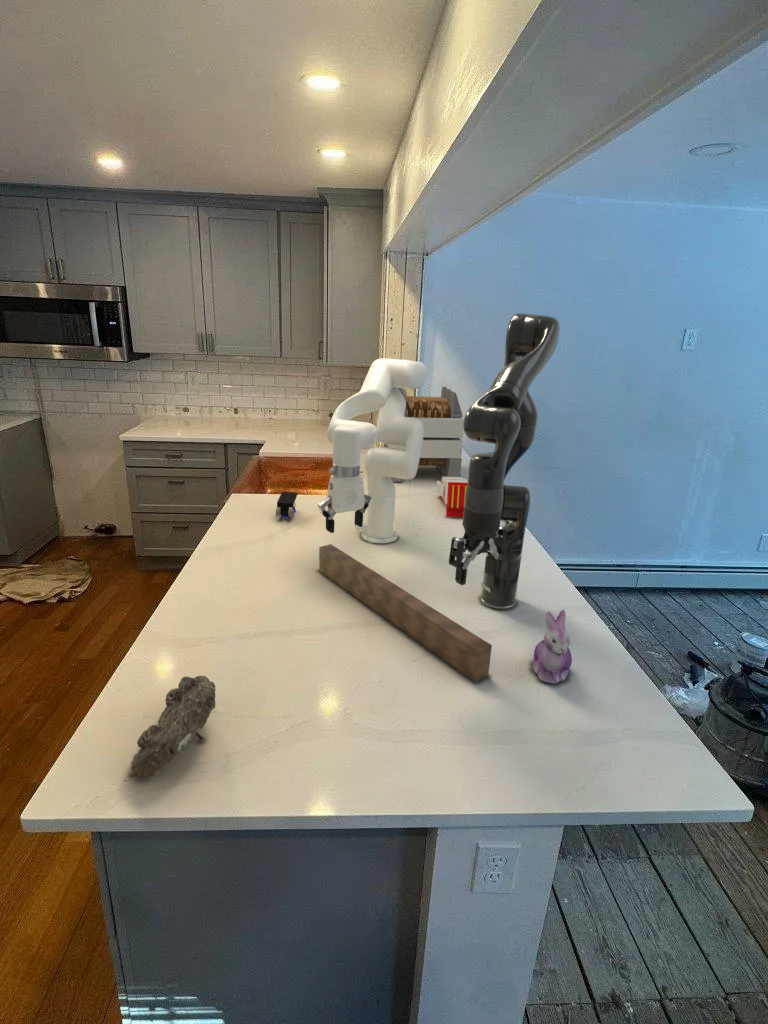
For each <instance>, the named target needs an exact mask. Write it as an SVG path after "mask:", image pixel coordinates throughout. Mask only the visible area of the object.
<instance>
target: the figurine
mask: <svg viewBox="0 0 768 1024" xmlns="http://www.w3.org/2000/svg"><path fill="white" fill-rule="evenodd" d="M566 615H567V613H566V610H565V609H561V610H560V611H559V612H558V615H557V617H556V619H555V618H554V616H553V614H552V613H551V611H549V610H546V611H545V624H546V631H545V633H544V635H543V640H541V641H539V642H538V643H537V644H536V646H535V648H534V652H533V660H532V669H533V672H534V673H535V674H536V675H537V676H538V679H539V680H540V681H542V682H545V683H549V684H558V683H559V682H563V681H565V680H566V679H567V677H568V675H569V673H570V668H571V666H572V664H573V656H572V653H571V650H570V648H569V646H570V644H571V639H570V638H571V637H570V635H569V633H568V630H567V629H566V617H567V616H566Z"/></svg>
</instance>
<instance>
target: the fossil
mask: <svg viewBox="0 0 768 1024" xmlns="http://www.w3.org/2000/svg"><path fill="white" fill-rule="evenodd" d="M216 686H217V685H215V682H213V681H211V680H210V679H209V678H208V677H207V676H206V675H196V676H195V677H191V676H183V677H182V678H180V681H179V683H178V687H175V688H171V689H170V690H169V691H168V692H167V693H166V695H165V706H166V707H165V708H164V709H163V711H162V712H161V715H160V716H159V718H158V721H157V723H158V724H157V725H156V724H151V725H150V726H148V728H147V729H145V730H144V731H142V733H141V735H140V736H139V737H138V739H137V742H136V744H137V746H138V748H139V750H138V751H137V753H136V754H134V755H133V761H132V762H131V766H130V768H131V770H132V774H134V775H137V776H139V777H141V778H142V777H147V776H158V775H159V774H161V772H163V770H164V769H165V768H166V767H167V766H169V765H170V764H171V763H172V762H173V761H174V760H175V759H176V758H177V757H178V756H179V755H180V754H181V753H182V752H183V751H185V748H187V746H188V743H190V742H191V741H192V740H193V738H195V736H196V737H197V738H198V739H199V740H200V741H202V740H204V737H203V735H201V734H200V733H199V732H198V731H199V729H203V728H204V726H205V725H206V723H207V722H208V719H209V717H210V715H211V714H212V711H213V710H214V709H215V708H216V690H217V689H216Z"/></svg>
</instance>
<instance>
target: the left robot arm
mask: <svg viewBox="0 0 768 1024" xmlns="http://www.w3.org/2000/svg"><path fill="white" fill-rule="evenodd" d="M427 374H428V372H427V366H426V365H425V364H424V363H423V362H422V361H416V360H415V361H414V360H409V359H397V358H389V357H388V358H387V357H386V358H385V357H383V358H377V359H375V360H374V361H373V362H372V363H371V365H370V367H369V369H368V372H367V374H366V375H365V378H364V381H363V383H362V385H361V388H360V390H359V391H358V392H356V393H355V394H353V395H351V396H349V397H348V398H346V399H345V400H344V401H343V402H341V403H340V404H339V405H338V406H337V407H336V409H335V410H334V411H333V412H334V413H333V414H332V417H331V419H330V421H329V424H328V427H327V439H328V441H329V443H331V444H332V465H331V468H329V469H328V472H329V474H331V475H330V477H329V482H328V487H327V494H326V495H327V496H326V498H325V499H324V500H322V501H321V502H320V503H318V504H317V508H318V511H319V512H320V514H321V515H322V516H323V517H324V518H325V529H326V531H327V532H329V533H330V534H334V533H335V519H334V517H335V516H336V514H343V513H349V512H353V511H354V527H355V529H356V530H361V534H360V535H361V538H362V539H363V540H364V541H366V542H368V543H373V544H389V543H393V542H395V541H397V540H398V537H399V534H398V532H397V531H396V530H395V528H394V527H395V510H396V509H395V508H396V507H395V506H396V491H397V490H396V485H395V482H393V481H392V479H391V478H390V477H392V478H399V479H402V480H412V479H414V478H415V477H416V475H417V473H418V469H419V466H418V465H419V459H420V453H421V448H422V442H423V435H424V428H423V424H422V422H421V421H420V420H419V419H416V418H409V417H404V414H405V408H406V401H405V399H404V397H403V395H402V394H401V392H400V391H399V389H398V388H403V389H409V390H419V389H422V387H424V385H425V383H426V381H427V378H428V377H427V376H428V375H427ZM377 411H378V416H377V421H376V425H375V424H374V423H371V422H366V421H358V420H352V419H354V418H356V417H358V416H363V415H365V414H366V415H367V414H370V413H374V412H377ZM377 442H378V443H380V444H383V445H384V444H390V445H398V446H405V447H406V450H402V449H395V448H387V447H384V446H375V445H376V444H377ZM362 450H368V451H367V452H366V455H365V461H364V462H365V469H366V478H367V491H366V494H365V483H364V479H363V478H364V477H363V475H362V474H361V473H360V472H361V451H362ZM326 508H327V509H326ZM365 513H366V519H365V520H366V521H364V514H365Z"/></svg>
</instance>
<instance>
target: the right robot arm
mask: <svg viewBox="0 0 768 1024" xmlns="http://www.w3.org/2000/svg"><path fill="white" fill-rule="evenodd" d="M560 327H561V326H560V322H559V320H558V319H557V318H556V317H553V316H550V315H541V314H532V313H520V312H518V313H517V312H516V313H514V314H513V315H512V316H511V317H510V319H509V321H508V325H507V329H506V335H505V346H504V360H503V361H504V363H503V368H502V369H501V370H500V371H499V372H498V373H497V375H496V376H495V378H494V380H493V381H492V384H491V385H490V387H489V388H488V389H489V390H487V391H486V392H485V393H484V394H483V395H481V396H480V397H479V398H478V399H476V401H474V402H473V403H472V404H471V405H470V407H469V408H468V410H467V411H466V413H465V415H464V417H463V419H464V422H463V429H464V432H463V433H464V434H465V436H466V438H468V439H469V440H471V441H473V442H479V443H485V444H493V445H494V451H490V452H479V453H476V454H473V455H472V456H471V457H470V460H469V464H468V476H467V482H468V484H467V489H466V493H465V503H464V513H463V517H462V527H463V529H464V534H463V536H462V537H456V536H453V537H452V538H451V542H450V549H449V556H448V565H450V566H452V567H454V568H455V575H454V580H455V582H456V583H457V584H458V585H460V586H465V585H466V584H467V576H468V568H469V567H468V566H469V565H470V563H471V562H473V561H474V560H475V559H476V557H477V556H479V555H481V554H485V561H484V571H483V580H482V582H481V583H480V584H481V585H480V587H481V595H480V601H481V603H483V605H485V606H487V607H489V608H491V609H496V610H509V609H512V608H513V607H515V606H516V599H517V593H518V584H519V576H520V569H521V562H522V561H521V560H522V554H523V547H524V539H525V533H526V526H527V521H528V518H529V517H528V516H529V512H530V506H531V492H530V489H529V488H528V487H526V486H521V485H510V484H509V485H508V484H505V480H506V477H507V475H508V474H509V472H510V470H511V469H512V468H513V467H514V466H515V464H516V463H517V462H519V460H520V459H521V458H522V457H523V456H524V455H525V454H526V452H527V451H528V450H529V449H530V447H531V446H532V445H533V443H534V440H535V437H536V430H537V425H538V417H539V416H538V415H539V414H538V409H537V407H536V406H537V405H536V404H535V401H534V399H533V397H532V395H531V393H530V391H529V389H530V387H531V385H532V383H533V382H534V380H535V379H536V378H537V377H538V375H539V374H540V373H541V372H542V371H543V369H544V368H545V367H546V365H547V364H548V362H549V361H550V359H551V358H552V357H553V355H554V353H555V351H556V350H557V346H558V344H559V340H560V339H559V338H560V329H561V328H560ZM501 521H502V522H503V521H505V522H506V525H503V526H501ZM466 551H467V552H468V553H467V552H466ZM464 558H465V559H464Z"/></svg>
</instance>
